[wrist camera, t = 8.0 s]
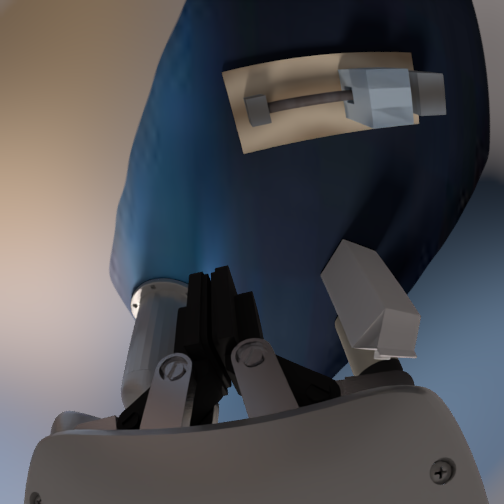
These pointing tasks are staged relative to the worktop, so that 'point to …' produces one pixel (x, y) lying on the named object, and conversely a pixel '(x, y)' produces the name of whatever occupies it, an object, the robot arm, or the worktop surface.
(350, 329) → the milk carton
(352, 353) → the travel mug
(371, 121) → the sleeve
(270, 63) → the slider mechanism
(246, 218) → the worktop surface
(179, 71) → the worktop surface
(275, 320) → the worktop surface
